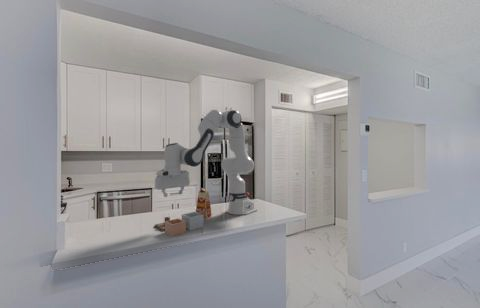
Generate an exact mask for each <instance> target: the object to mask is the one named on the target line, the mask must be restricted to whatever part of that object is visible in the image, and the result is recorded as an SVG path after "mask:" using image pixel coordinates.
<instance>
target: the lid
mask: <svg viewBox="0 0 480 308" xmlns="http://www.w3.org/2000/svg"><path fill="white" fill-rule="evenodd" d="M169 220H171V216H165V217H164V222H160V223H156V224H154V226H156V227H158V228H160V229H162V230H165V221H169Z"/></svg>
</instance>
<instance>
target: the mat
mask: <svg viewBox="0 0 480 308" xmlns="http://www.w3.org/2000/svg"><path fill="white" fill-rule="evenodd" d="M153 227H154V228H155V229H157V230H159V231H160V232H165V230H162V229H160V228H158V227H156V226H155V225H153Z"/></svg>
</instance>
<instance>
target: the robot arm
mask: <svg viewBox="0 0 480 308" xmlns="http://www.w3.org/2000/svg"><path fill="white" fill-rule="evenodd" d="M218 128H219V129H228V131H229V132H228V134H229V135H228V136H229V137H228V142H229V143H228V144H229V145H228V147H229V150H230V151H231V152H233V154H234V155H235V156H233V157H232V156H231V157H230V156H229V157H225V158H223V159H222V160H221V163H220V167H221V170H222V171H224V173H225V174H226V176H227V178H228V183H229V193H228V199H229V200H228V208H227V213H228V214H231V215H235V216H236V215H238V216H239V215H241V216H242V215H245V216H246V215H249V214H253V213H254V212H257V211H258V209H257V208H256V207H255V204H254V201H252V200H251V199H250V198H249V197H248V196H250V192H246V181H245V180H244V179H243V178H242V177H241V176H240V174H248V173H252V172H253V171H254V169H255V161H254V160H253V159H252V158H251V157H250V156H249V154H248V152H247V149H246V137H245V136H246V135H245V134H246V133H245V127H244V124H243V123H242V115H241V113H240V112H239V111H237V110H234V109H233V110H225V111H223V112H221V111H220V110H218V109H212V110H210V111H209V112H208V113H207V114H206V115H205V116H204V117H203V118H202V119H201V121H200V122H199V124H198V127H197V129H198V133H199V134H200V138H199V140H198V141H197V143H196V145H195V146H193V147H192V148H187V147H184V146H183V145H180V144H179V142H173V143H168V144H166V145H165V147H164V154H163V155H164V159H163V160H164V168H162V169H160V170H157V171H156V172H155V175H156V176H155V180H154V188H155V189H156V190H158V191H159V190H161V192H162V193H163V197H164V198H166V197H168V193H167V192H166V190H167V189H174V188H180V190H178V195H183V192H184V190H185V187H188V186H189V185H190V182H191V181H190V174H189V173H190V172H189V171H188V170H187V169H186V170H185V169H183V170H181V165H184V166H185V165H186V166H188V167H189V166H190V167H193V168H194V167H198V166H199V165H200V164H201V163H202V162H203V158H204V156H205V153H206V151H207V149H208V148H209V145H211V141H212V140H213V138H214V135H215V133H216V132H217V130H218Z"/></svg>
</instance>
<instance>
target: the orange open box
mask: <svg viewBox="0 0 480 308" xmlns="http://www.w3.org/2000/svg"><path fill="white" fill-rule="evenodd" d="M164 222H165V231H164V234H167V235H169V236H170V237H174V236H175V237H176V236H178V235H182V234H185V233H187V229H186V222H185V221H183V220H182V218H175V219H170V220H169V221H165V220H164Z"/></svg>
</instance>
